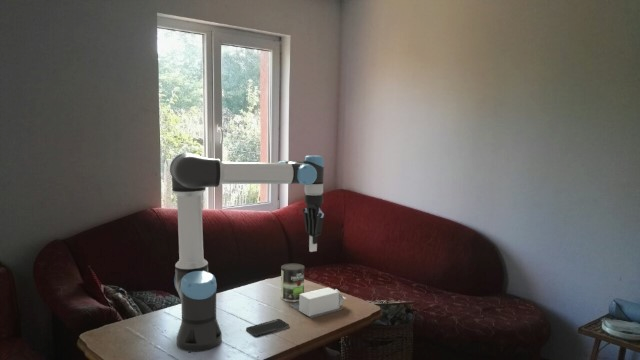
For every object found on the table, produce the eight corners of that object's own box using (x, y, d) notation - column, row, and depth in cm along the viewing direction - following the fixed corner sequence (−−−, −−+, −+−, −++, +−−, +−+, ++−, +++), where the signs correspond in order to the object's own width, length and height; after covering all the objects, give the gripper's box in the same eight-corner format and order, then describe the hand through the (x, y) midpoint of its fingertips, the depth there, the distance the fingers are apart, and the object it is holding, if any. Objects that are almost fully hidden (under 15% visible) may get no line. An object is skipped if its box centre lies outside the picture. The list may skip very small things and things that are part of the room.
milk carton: (298, 310, 192) (335, 301, 203) (308, 316, 186) (346, 306, 198) (299, 293, 191) (335, 285, 202) (309, 299, 186) (346, 290, 197)
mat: (311, 318, 186) (311, 317, 186) (289, 305, 199) (289, 304, 199) (342, 309, 195) (343, 308, 195) (320, 297, 208) (320, 296, 208)
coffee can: (308, 298, 207) (309, 267, 205) (288, 303, 201) (289, 271, 199) (295, 292, 215) (296, 261, 214) (276, 296, 209) (276, 265, 207)
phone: (244, 328, 174) (279, 318, 183) (244, 330, 174) (279, 321, 183) (255, 335, 168) (290, 325, 177) (255, 338, 168) (290, 328, 177)
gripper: (331, 195, 188) (329, 253, 190) (312, 191, 198) (311, 246, 201) (315, 196, 183) (314, 256, 186) (297, 192, 194) (296, 248, 196)
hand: (313, 250), depth 193 cm, fingers closed
